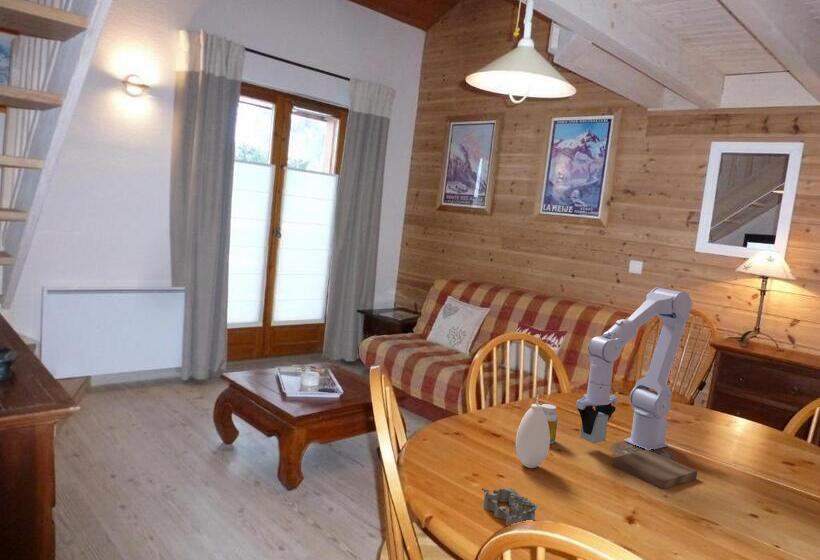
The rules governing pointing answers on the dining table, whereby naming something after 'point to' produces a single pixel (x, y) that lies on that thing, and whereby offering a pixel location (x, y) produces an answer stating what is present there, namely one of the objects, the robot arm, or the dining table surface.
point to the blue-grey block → (597, 429)
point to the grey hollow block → (510, 505)
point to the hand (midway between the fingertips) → (593, 432)
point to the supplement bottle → (551, 420)
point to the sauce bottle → (533, 437)
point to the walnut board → (654, 469)
